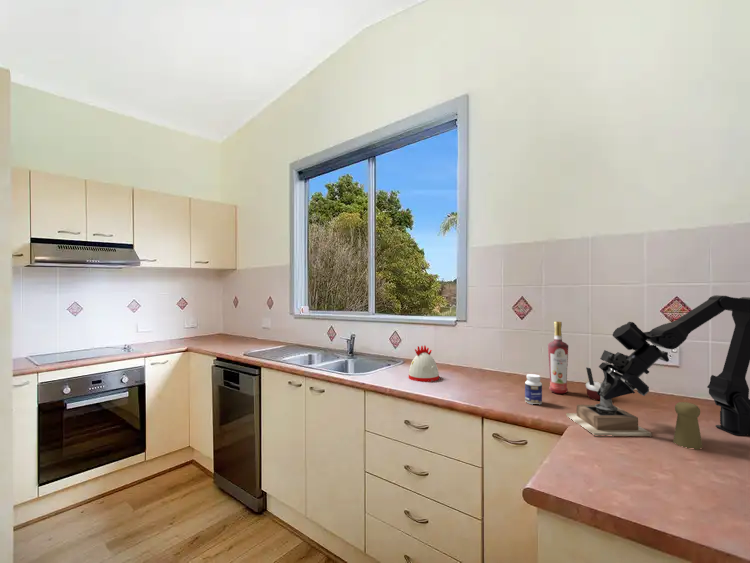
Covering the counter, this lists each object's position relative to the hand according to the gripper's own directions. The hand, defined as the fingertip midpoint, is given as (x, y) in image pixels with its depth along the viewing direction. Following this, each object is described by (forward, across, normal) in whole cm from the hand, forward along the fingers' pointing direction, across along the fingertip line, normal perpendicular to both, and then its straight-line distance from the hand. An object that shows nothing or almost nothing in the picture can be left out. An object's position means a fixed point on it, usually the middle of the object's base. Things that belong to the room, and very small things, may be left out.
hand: (601, 396), depth 113 cm
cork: (-5, +11, +18) cm, 22 cm away
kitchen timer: (+44, -52, -33) cm, 76 cm away
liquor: (+7, -35, +6) cm, 36 cm away
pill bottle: (+16, -20, -4) cm, 26 cm away
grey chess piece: (+4, 0, +6) cm, 7 cm away
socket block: (+5, 0, +7) cm, 9 cm away
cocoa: (0, -28, +13) cm, 31 cm away
